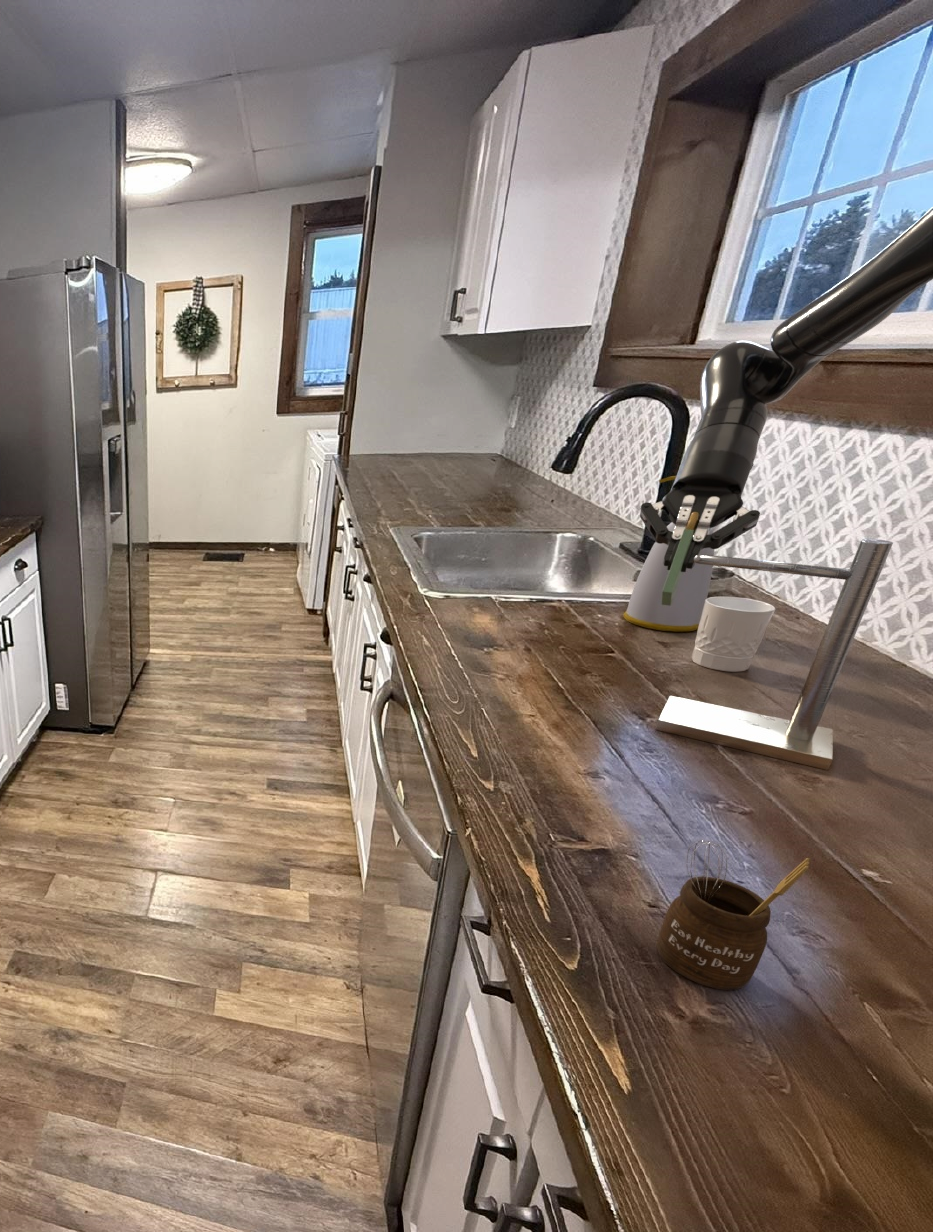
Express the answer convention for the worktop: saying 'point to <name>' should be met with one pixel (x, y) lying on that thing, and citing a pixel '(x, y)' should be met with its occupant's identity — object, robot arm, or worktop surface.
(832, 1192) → the worktop surface
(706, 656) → the white cup
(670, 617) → the soap bottle
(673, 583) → the green spatula stick
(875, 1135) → the worktop surface
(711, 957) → the utensil holder
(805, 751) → the stand
